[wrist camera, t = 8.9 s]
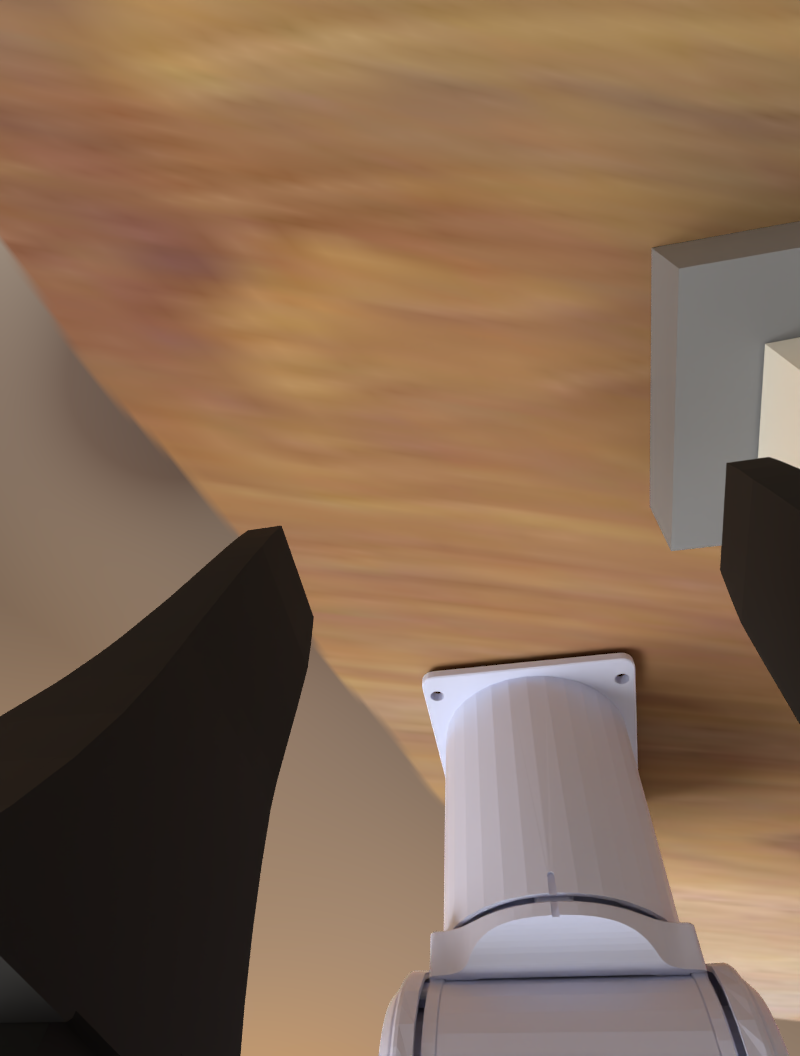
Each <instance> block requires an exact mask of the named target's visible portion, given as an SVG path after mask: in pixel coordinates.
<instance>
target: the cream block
mask: <svg viewBox="0 0 800 1056" xmlns="http://www.w3.org/2000/svg"><path fill="white" fill-rule="evenodd" d="M765 457H771V458H774V459H777V460H779V461H782V462H785V463H787V464H789V465H792V466H794V467H796V468H799V469H800V337H798V338H793V339H788V340H782V341H777V342H772V343H767V344H765V353H764V369H763V384H762V400H761V416H760V432H759V448H758V458H765Z"/></svg>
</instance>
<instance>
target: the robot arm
mask: <svg viewBox="0 0 800 1056" xmlns="http://www.w3.org/2000/svg"><path fill="white" fill-rule="evenodd" d="M720 571H721V573H722V576H723V579H724V581H725V584H726V587H727V589H728V592H729V594H730V597H731V600H732V602H733V604H734V607H735V609H736V612H737V614H738V616H739V619H740V621H741V623H742V625H743V627H744V629H745V631H746V632H747V634H748V636H749V638H750V639H751V641H752V643H753V645H754V646H755V648H756V650H757V652H758V653H759V655H760V657H761V659H762V660H763V662H764V664H765V665H766V667H767V669H768V671H769V672H770V674H771V676H772V677H773V679H774V681H775V683H776V684H777V686H778V688H779V689H780V691H781V693H782V694H783V696H784V698H785V700H786V701H787V703H788V705H789V706H790V708H791V710H792V712H793V713H794V715H795V717H796V718H797V720H798V722H799V723H800V469H799V468H796V467H794V466H792V465H789V464H787V463H785V462H782V461H779V460H777V459H774V458H771V457H765V458H758V459H751V460H743V461H736V462H729V463H726V480H725V497H724V514H723V531H722V548H721V565H720ZM313 618H314V617H313V614H312V611H311V609H310V606H309V603H308V600H307V597H306V594H305V591H304V589H303V586H302V583H301V580H300V577H299V574H298V571H297V569H296V566H295V563H294V560H293V557H292V554H291V551H290V549H289V546H288V543H287V540H286V537H285V534H284V531H283V529H282V526H276V527H269V528H262V529H255V530H248V531H247V532H245V533H244V534H242V535H241V536H240V537H238V538H237V539H236V540H235V541H233V542H232V543H231V544H230V545H229V546H228V547H226V548H225V549H224V550H223V551H222V552H221V553H219V554H218V555H217V556H216V557H215V558H214V559H213V560H211V561H210V562H209V563H208V564H207V565H206V566H205V567H204V568H202V569H201V570H200V571H199V572H198V573H197V574H196V575H195V576H193V577H192V578H191V579H190V580H189V581H188V582H187V583H186V584H184V585H183V586H182V587H181V588H180V589H179V590H178V591H176V592H175V593H174V594H173V595H172V596H171V597H170V598H169V599H167V600H166V601H165V602H164V603H162V604H161V605H160V606H159V607H158V608H156V609H155V610H154V611H153V612H151V613H150V614H149V615H148V616H146V617H145V618H144V619H143V620H142V621H140V622H139V623H138V624H137V625H136V626H134V627H133V628H132V629H131V630H129V631H128V632H127V633H126V634H124V635H123V636H122V637H121V638H119V639H118V640H117V641H115V642H114V643H113V644H111V645H110V646H109V647H107V648H106V649H105V650H103V651H102V652H101V653H99V654H98V655H96V656H95V657H94V658H92V659H91V660H89V661H88V662H86V663H85V664H83V665H82V666H80V667H79V668H78V669H76V670H75V671H73V672H72V673H70V674H69V675H67V676H66V677H64V678H63V679H61V680H60V681H58V682H57V683H55V684H53V685H52V686H50V687H49V688H47V689H45V690H43V691H42V692H40V693H38V694H37V695H35V696H34V697H32V698H30V699H28V700H27V701H25V702H23V703H22V704H20V705H18V706H17V707H15V708H14V709H12V710H10V711H8V712H7V713H5V714H3V715H2V716H0V1056H240V1054H241V1042H242V1029H243V1017H244V1005H245V996H246V987H247V977H248V967H249V959H250V950H251V941H252V932H253V923H254V916H255V909H256V902H257V894H258V887H259V880H260V872H261V865H262V859H263V853H264V846H265V840H266V834H267V828H268V822H269V815H270V809H271V805H272V800H273V796H274V791H275V787H276V782H277V779H278V775H279V772H280V768H281V764H282V760H283V757H284V753H285V750H286V746H287V742H288V739H289V735H290V732H291V728H292V724H293V721H294V717H295V713H296V710H297V706H298V702H299V699H300V695H301V691H302V687H303V683H304V680H305V676H306V672H307V668H308V661H309V653H310V646H311V637H312V628H313ZM619 674H625V675H623V676H617V675H619ZM422 688H423V692H424V696H425V700H426V704H427V708H428V712H429V715H430V719H431V723H432V727H433V731H434V735H435V739H436V743H437V746H438V750H439V754H440V758H441V762H442V766H443V770H444V773H445V777H446V788H445V874H444V876H445V877H444V931H437V932H433V933H432V934H431V944H430V971H412V972H410V973H409V974H408V975H407V976H406V978H405V979H404V981H403V983H402V986H401V988H400V989H399V990H398V991H397V993H396V994H395V995H394V997H393V998H392V1000H391V1002H390V1004H389V1007H388V1009H387V1012H386V1016H385V1020H384V1024H383V1029H382V1035H381V1042H380V1049H379V1056H789V1054H788V1051H787V1049H786V1046H785V1043H784V1041H783V1039H782V1036H781V1034H780V1031H779V1029H778V1027H777V1025H776V1023H775V1020H774V1018H773V1016H772V1014H771V1012H770V1010H769V1009H768V1007H767V1005H766V1003H765V1002H764V1000H763V999H762V997H761V996H760V995H759V993H758V992H757V991H756V990H755V989H754V988H752V987H751V986H750V985H749V984H748V983H747V982H746V981H744V980H743V979H742V978H741V976H740V975H739V974H738V973H737V971H736V970H735V969H734V968H733V967H731V966H730V965H728V964H726V963H712V964H705V962H704V958H703V955H702V951H701V948H700V944H699V941H698V938H697V934H696V931H695V927H694V925H693V924H691V923H680V922H679V919H678V915H677V911H676V908H675V904H674V901H673V897H672V893H671V890H670V886H669V882H668V879H667V875H666V871H665V868H664V864H663V860H662V857H661V853H660V849H659V846H658V842H657V838H656V835H655V831H654V827H653V824H652V820H651V816H650V813H649V809H648V805H647V802H646V798H645V794H644V791H643V787H642V783H641V780H640V776H639V772H638V752H637V713H636V674H635V664H634V661H633V658H632V657H631V656H630V655H629V654H626V653H612V654H602V655H592V656H582V657H572V658H562V659H552V660H542V661H532V662H522V663H511V664H501V665H491V666H481V667H471V668H461V669H451V670H441V671H432V672H428V673H427V674H425V675H424V677H423V681H422ZM436 691H437V692H441V693H434V692H436Z"/></svg>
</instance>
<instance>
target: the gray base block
mask: <svg viewBox="0 0 800 1056" xmlns="http://www.w3.org/2000/svg"><path fill="white" fill-rule="evenodd" d="M798 337H800V221H798V222H792V223H787V224H781V225H776V226H770V227H765V228H759V229H754V230H748V231H743V232H737V233H731V234H726V235H720V236H715V237H709V238H704V239H698V240H693V241H687V242H682V243H676V244H671V245H665V246H659V247H654V248H652V278H651V415H650V508H651V510H652V512H653V514H654V516H655V518H656V520H657V523H658V525H659V527H660V529H661V531H662V533H663V535H664V537H665V539H666V541H667V543H668V546H669V548H670V550H671V551H676V550H685V549H694V548H703V547H711V546H720V545H722V531H723V514H724V497H725V480H726V463H729V462H736V461H743V460H751V459H758V448H759V432H760V416H761V400H762V384H763V369H764V353H765V344H767V343H772V342H777V341H782V340H788V339H793V338H798Z"/></svg>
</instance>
